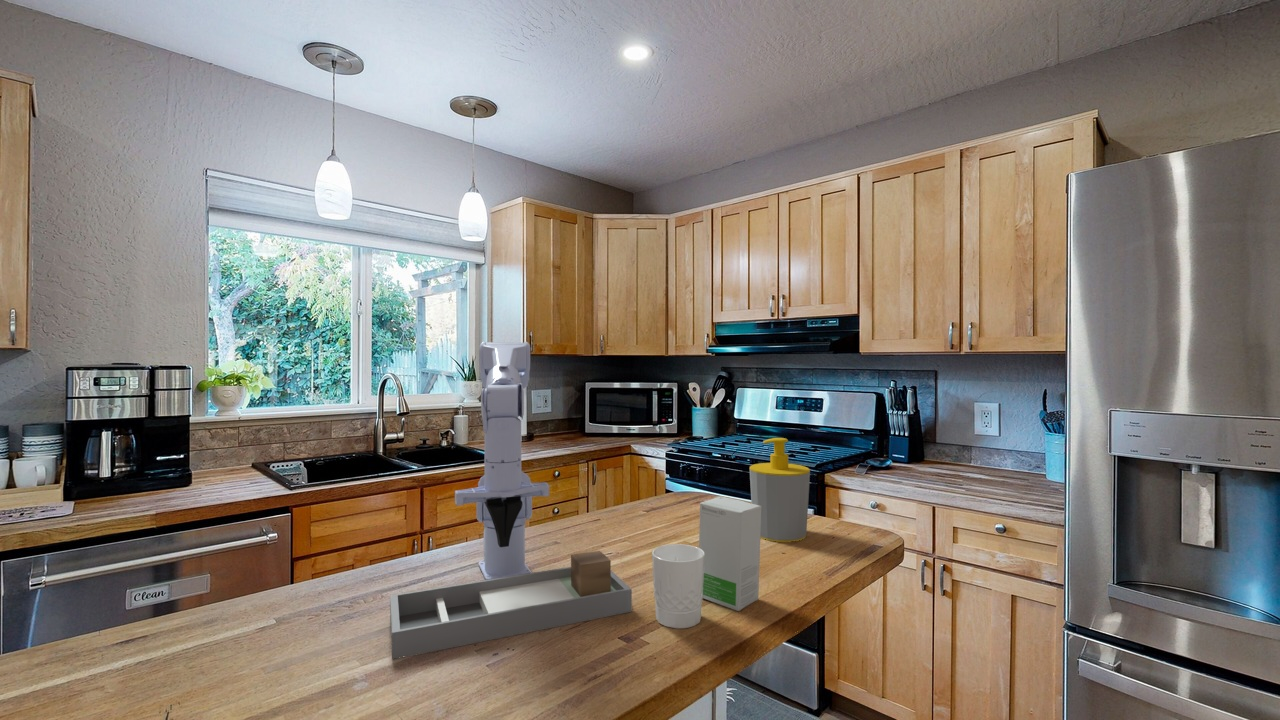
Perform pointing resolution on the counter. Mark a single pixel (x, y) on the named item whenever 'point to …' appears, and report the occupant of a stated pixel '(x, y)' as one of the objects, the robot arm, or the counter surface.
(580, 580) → the walnut block
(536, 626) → the box
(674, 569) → the white cup
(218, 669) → the counter surface
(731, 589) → the skincare box
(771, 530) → the soap bottle
